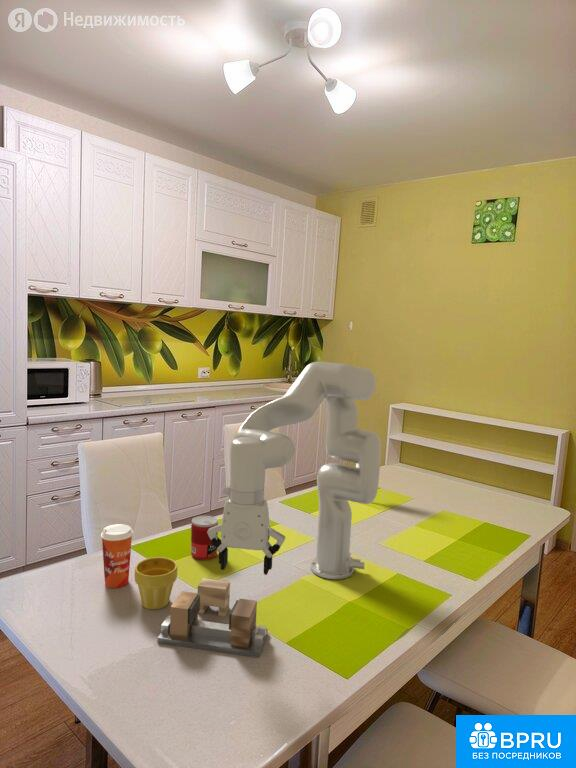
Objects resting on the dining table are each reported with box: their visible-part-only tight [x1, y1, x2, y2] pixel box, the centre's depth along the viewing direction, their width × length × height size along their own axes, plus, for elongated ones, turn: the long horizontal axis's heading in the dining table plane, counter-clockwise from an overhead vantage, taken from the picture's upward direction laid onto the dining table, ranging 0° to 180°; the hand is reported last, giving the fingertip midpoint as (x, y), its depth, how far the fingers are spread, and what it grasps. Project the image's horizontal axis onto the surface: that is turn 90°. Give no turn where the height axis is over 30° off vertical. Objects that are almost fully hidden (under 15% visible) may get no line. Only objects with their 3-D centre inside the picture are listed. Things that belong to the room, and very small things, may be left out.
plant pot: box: [134, 556, 178, 610], centre depth 133 cm, size 10×10×10 cm
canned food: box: [190, 515, 219, 561], centre depth 161 cm, size 8×8×11 cm
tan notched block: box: [197, 577, 231, 617], centre depth 132 cm, size 5×7×7 cm, turn 81°
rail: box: [156, 591, 269, 658], centre depth 120 cm, size 23×9×8 cm, turn 81°
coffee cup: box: [100, 523, 135, 589], centre depth 142 cm, size 8×8×15 cm
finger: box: [228, 598, 258, 648], centre depth 119 cm, size 5×7×7 cm, turn 170°
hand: (245, 569), depth 118 cm, fingers open, 9 cm apart
